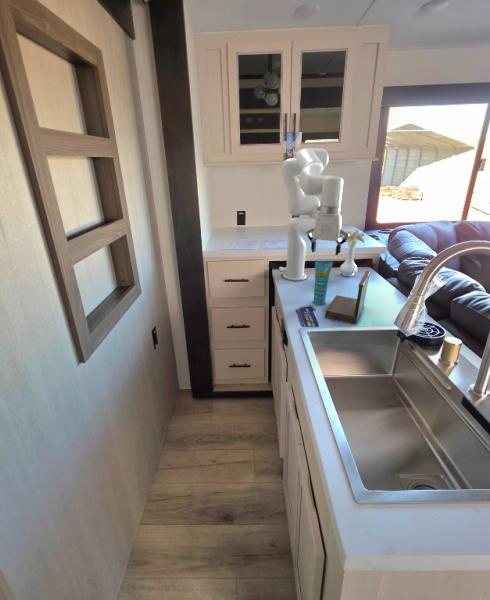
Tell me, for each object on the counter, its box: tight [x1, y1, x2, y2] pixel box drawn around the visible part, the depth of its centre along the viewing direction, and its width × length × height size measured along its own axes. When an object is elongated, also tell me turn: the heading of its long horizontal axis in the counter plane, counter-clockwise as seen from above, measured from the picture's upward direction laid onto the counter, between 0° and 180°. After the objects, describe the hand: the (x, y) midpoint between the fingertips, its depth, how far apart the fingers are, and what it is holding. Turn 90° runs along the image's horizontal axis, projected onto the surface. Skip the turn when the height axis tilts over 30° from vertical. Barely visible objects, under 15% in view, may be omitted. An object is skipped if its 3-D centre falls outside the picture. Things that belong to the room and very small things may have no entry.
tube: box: [312, 259, 334, 306], centre depth 135 cm, size 7×5×19 cm, turn 72°
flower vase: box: [339, 228, 366, 277], centre depth 169 cm, size 13×18×25 cm
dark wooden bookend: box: [324, 270, 371, 325], centre depth 127 cm, size 12×18×16 cm
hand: (325, 253), depth 130 cm, fingers open, 9 cm apart
